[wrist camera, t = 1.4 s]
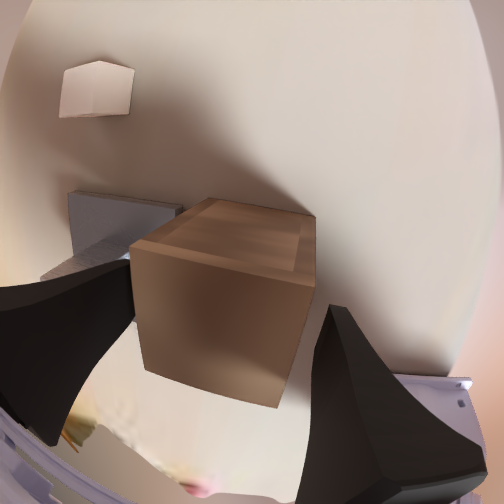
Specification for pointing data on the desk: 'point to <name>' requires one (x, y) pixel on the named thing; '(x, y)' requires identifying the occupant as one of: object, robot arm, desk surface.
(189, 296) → the brown rectangular block
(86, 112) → the off-white cube
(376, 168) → the desk surface
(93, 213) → the post
